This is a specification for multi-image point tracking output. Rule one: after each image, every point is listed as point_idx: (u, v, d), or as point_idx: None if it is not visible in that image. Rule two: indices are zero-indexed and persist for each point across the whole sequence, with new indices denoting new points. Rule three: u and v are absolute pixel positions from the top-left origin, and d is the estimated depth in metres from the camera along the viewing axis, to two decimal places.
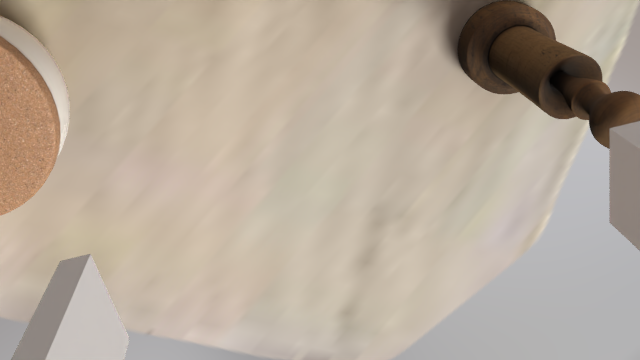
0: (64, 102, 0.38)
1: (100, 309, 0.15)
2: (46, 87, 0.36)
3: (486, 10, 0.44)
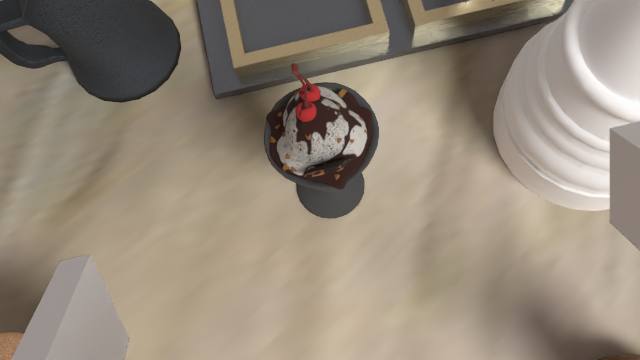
0: None
1: (100, 309, 0.15)
2: None
3: None
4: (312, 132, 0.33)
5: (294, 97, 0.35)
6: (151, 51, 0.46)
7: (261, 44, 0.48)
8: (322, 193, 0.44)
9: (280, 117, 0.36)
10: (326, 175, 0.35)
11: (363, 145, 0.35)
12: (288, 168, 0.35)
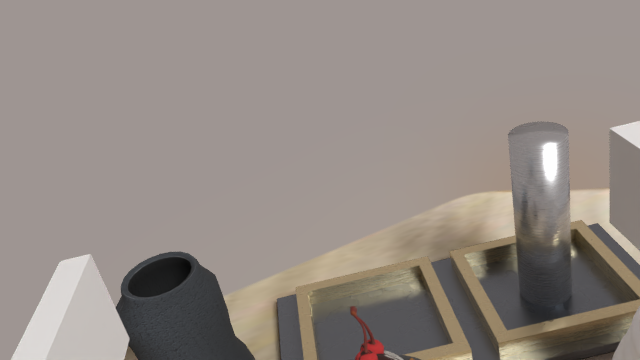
0: None
1: (100, 309, 0.15)
2: None
3: None
4: None
5: None
6: None
7: None
8: None
9: None
10: None
11: None
12: None
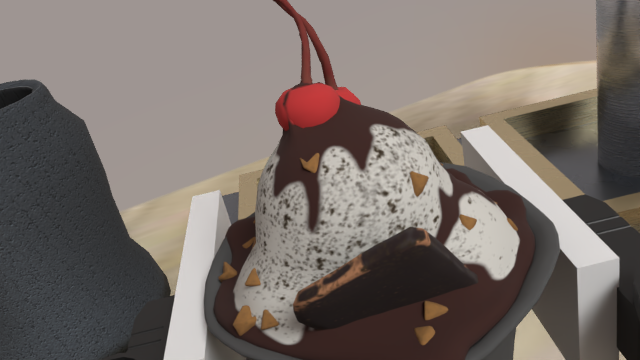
0: None
1: None
2: None
3: None
4: (323, 149, 0.10)
5: None
6: (102, 289, 0.26)
7: None
8: None
9: None
10: (384, 334, 0.09)
11: (511, 252, 0.10)
12: (253, 321, 0.10)
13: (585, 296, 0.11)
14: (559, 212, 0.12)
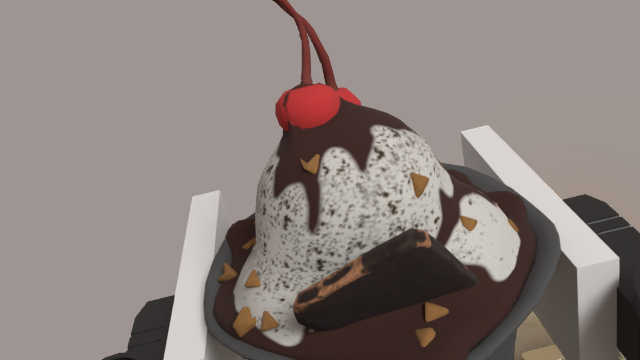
0: None
1: None
2: None
3: None
4: (324, 150, 0.10)
5: None
6: None
7: None
8: None
9: None
10: (385, 335, 0.09)
11: (511, 253, 0.10)
12: (253, 323, 0.10)
13: (585, 296, 0.11)
14: (559, 212, 0.12)
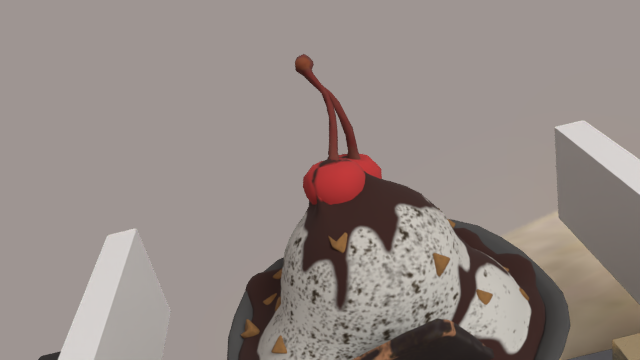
0: None
1: (146, 281, 0.15)
2: None
3: None
4: (351, 229, 0.10)
5: None
6: None
7: None
8: None
9: (280, 279, 0.13)
10: None
11: (523, 324, 0.11)
12: None
13: None
14: None
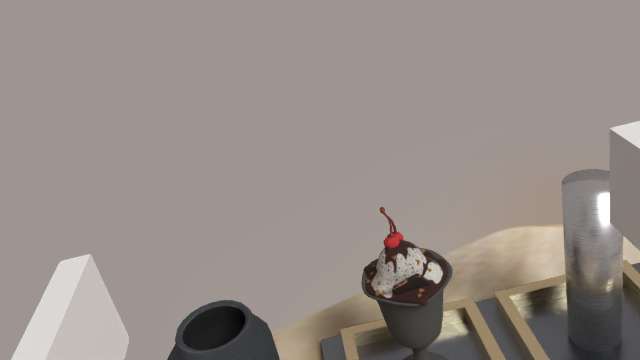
0: None
1: (100, 309, 0.15)
2: None
3: None
4: (396, 254, 0.43)
5: None
6: None
7: None
8: None
9: (374, 267, 0.46)
10: (410, 295, 0.43)
11: (440, 277, 0.44)
12: (380, 292, 0.43)
13: None
14: None
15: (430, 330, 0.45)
